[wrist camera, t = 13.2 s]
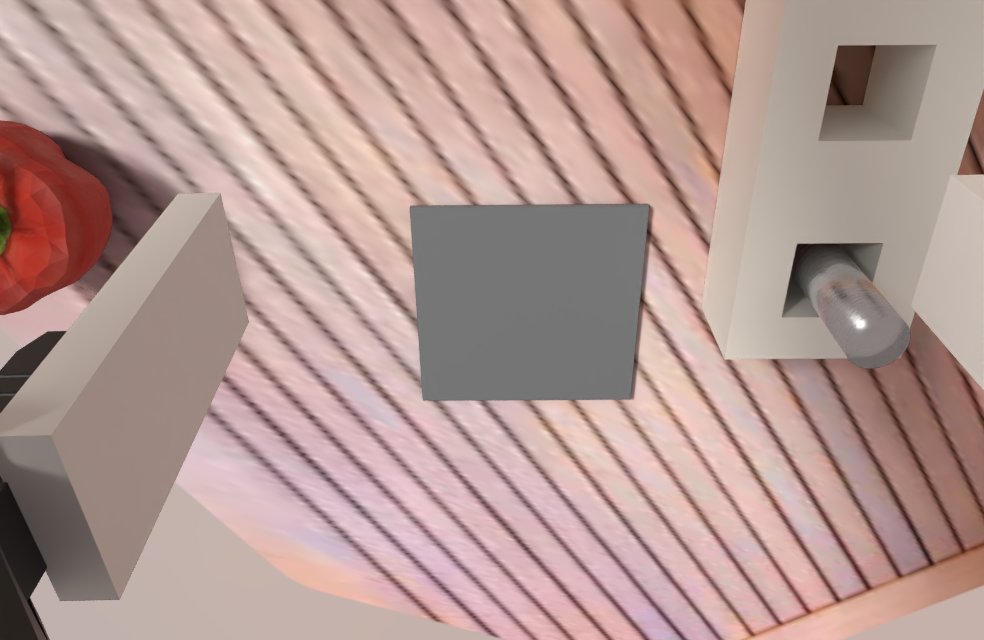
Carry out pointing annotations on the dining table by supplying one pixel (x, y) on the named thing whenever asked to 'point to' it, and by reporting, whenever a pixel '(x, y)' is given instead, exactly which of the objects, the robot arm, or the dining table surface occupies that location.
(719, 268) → the block
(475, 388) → the mat
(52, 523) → the robot arm
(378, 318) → the dining table surface
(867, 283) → the peg
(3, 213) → the vegetable
